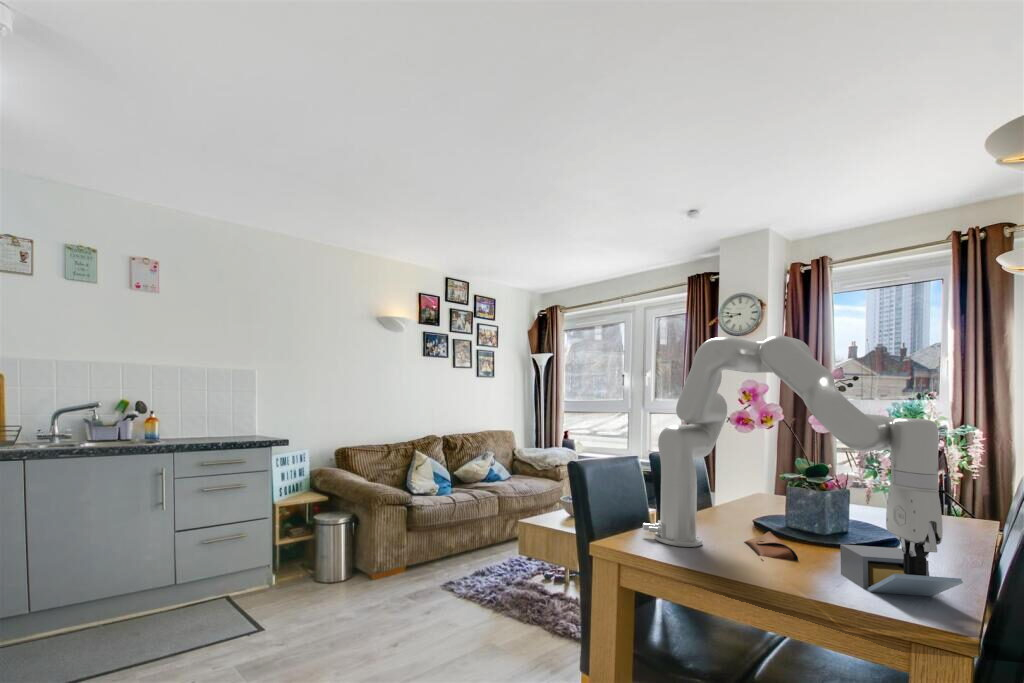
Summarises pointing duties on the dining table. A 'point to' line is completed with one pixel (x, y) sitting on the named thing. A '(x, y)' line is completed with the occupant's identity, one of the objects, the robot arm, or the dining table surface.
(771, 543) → the sunglasses case
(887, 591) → the side door
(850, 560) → the block
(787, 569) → the dining table surface
